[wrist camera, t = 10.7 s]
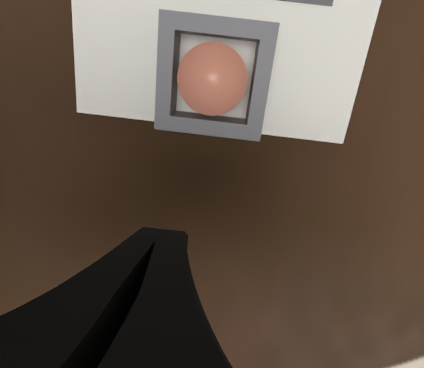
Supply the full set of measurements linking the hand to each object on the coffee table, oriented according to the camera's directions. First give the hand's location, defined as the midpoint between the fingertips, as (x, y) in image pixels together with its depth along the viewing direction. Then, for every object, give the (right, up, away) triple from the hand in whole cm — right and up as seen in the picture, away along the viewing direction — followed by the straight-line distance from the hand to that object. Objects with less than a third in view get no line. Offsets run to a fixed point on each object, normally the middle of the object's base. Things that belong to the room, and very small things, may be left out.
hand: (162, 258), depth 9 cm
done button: (+2, +7, +6) cm, 10 cm away
